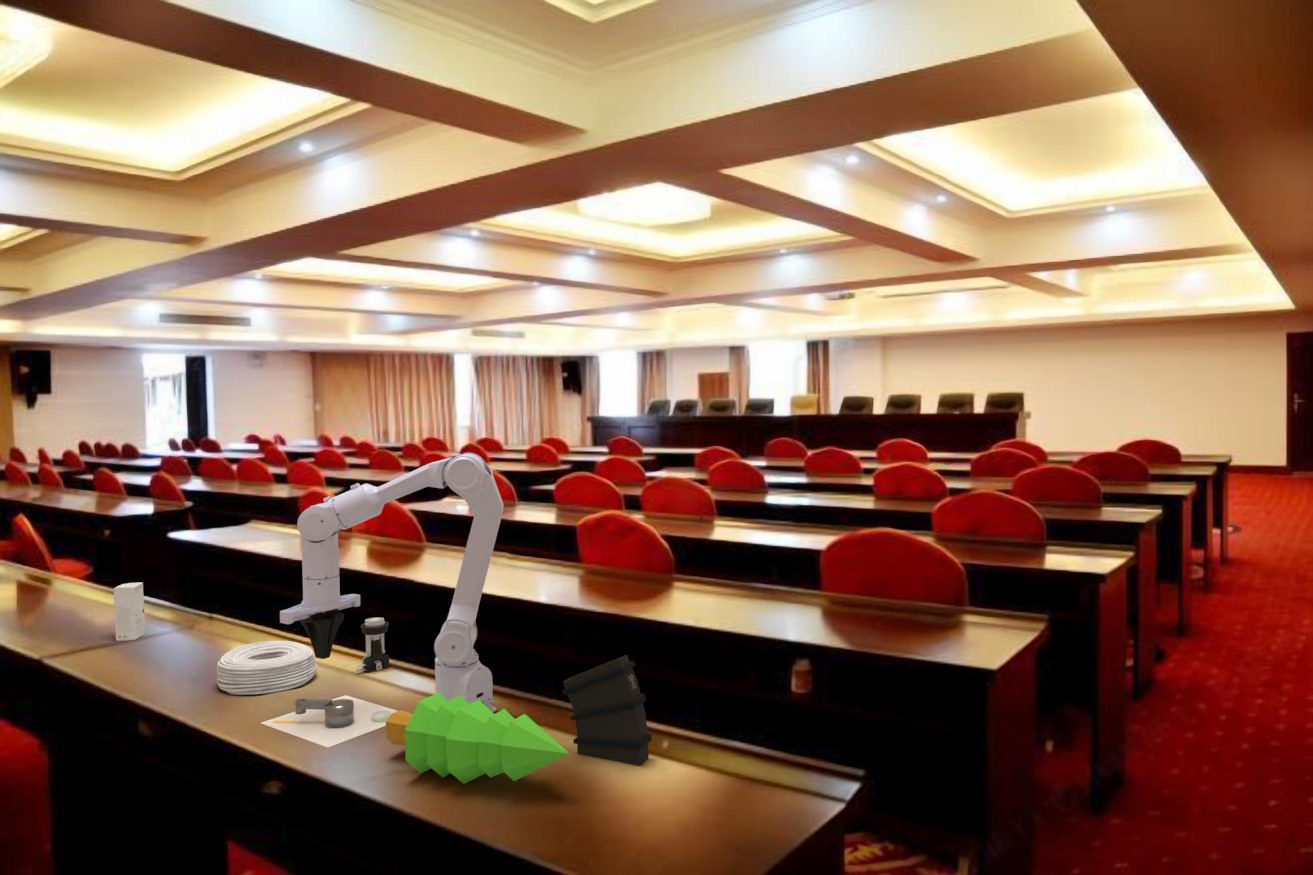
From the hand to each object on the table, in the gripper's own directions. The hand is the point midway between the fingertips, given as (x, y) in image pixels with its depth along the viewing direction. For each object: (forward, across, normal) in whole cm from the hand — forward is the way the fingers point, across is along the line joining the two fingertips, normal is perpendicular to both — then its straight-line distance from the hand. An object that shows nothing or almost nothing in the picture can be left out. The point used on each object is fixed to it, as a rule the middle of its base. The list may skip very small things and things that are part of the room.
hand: (322, 657), depth 142 cm
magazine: (+11, -10, +49) cm, 52 cm away
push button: (+11, -23, -14) cm, 29 cm away
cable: (+11, -8, -26) cm, 29 cm away
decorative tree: (+11, +6, +38) cm, 40 cm away
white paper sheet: (+10, +1, +4) cm, 11 cm away
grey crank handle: (+9, +3, +4) cm, 10 cm away
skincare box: (+11, -14, -82) cm, 84 cm away
